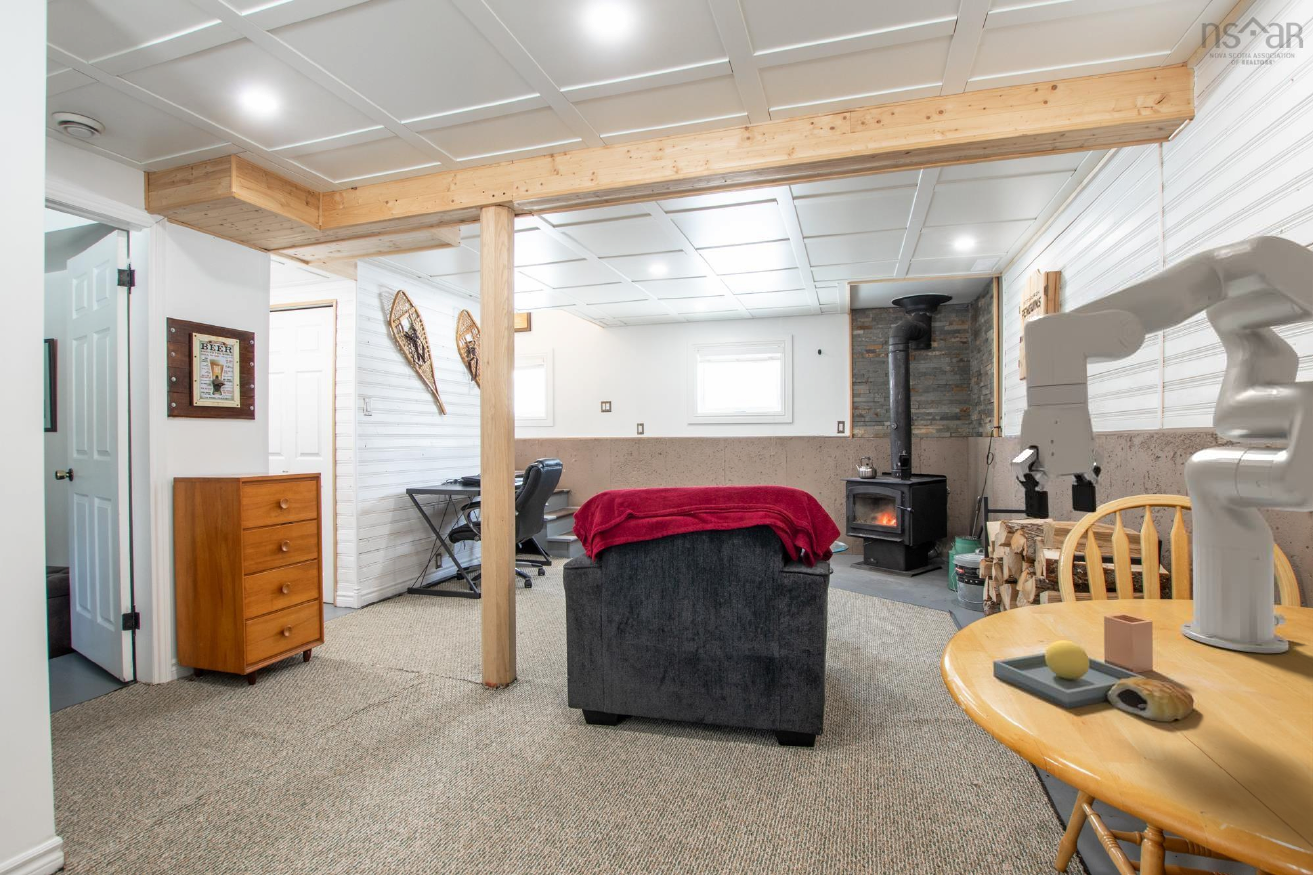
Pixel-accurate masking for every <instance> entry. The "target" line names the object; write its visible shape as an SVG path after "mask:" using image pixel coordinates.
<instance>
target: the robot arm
mask: <svg viewBox="0 0 1313 875" xmlns="http://www.w3.org/2000/svg"><path fill="white" fill-rule="evenodd" d="M1203 311H1205V315H1206V318H1207V320H1208V322H1209V324H1210V326H1211V327H1212V328H1213V331H1214V332H1215V333H1216V335H1217V336H1218V339H1219V340H1220V342H1221V344H1222V346H1223V347H1224V350H1225V354H1226V367H1225V370H1224V374H1223V378H1222V382H1221V386H1220V388H1219V392H1218V396H1217V400H1216V404H1215V406H1214V410H1213V416H1212V427H1213V430H1214V432H1215V433H1216V434H1217V435H1218V437H1220V438H1222V439H1224V440H1228V441H1231V442H1237V443H1238V442H1240V443H1255V444H1258V443H1259V444H1261V443H1262V444H1270V443H1271V444H1288V446H1287V447H1265V446H1264V447H1262V446H1261V447H1260V446H1215V447H1208V448H1205V449H1202V450H1198V451H1196V452H1195V453H1194V454H1192V455H1191V456H1190V457H1189V458H1188V460H1187V461H1186V463H1185V466H1184V471H1183V472H1184V473H1183V475H1184V482H1185V487H1186V490H1187V494H1188V498H1189V503H1190V509H1191V517H1192V570H1193V571H1192V580H1193V581H1192V584H1193V586H1192V589H1193V590H1192V591H1193V592H1192V594H1193V595H1192V596H1193V598H1192V599H1193V600H1192V602H1193V604H1192V606H1193V614H1192V615H1193V621H1188V622H1185V623H1182V624H1181V626H1180V628H1181V634H1183V635H1184V636H1186V637H1188V638H1189V639H1191V640H1194V641H1196V642H1200V643H1202V644H1206V645H1210V646H1215V647H1218V648H1223V649H1227V650H1234V651H1239V652H1247V653H1257V654H1280V653H1285V652H1287V651H1288V650H1289V642H1288V640H1286V639H1285V638H1284V637H1282V636H1279V635H1277V634H1276V633H1275V627H1278V626H1283V625H1284V624H1286V617H1285V616H1283V615H1282V614H1281V613H1277V612H1276V613H1275V568H1274V567H1275V566H1274V565H1275V561H1274V560H1275V558H1274V557H1275V556H1274V555H1275V551H1274V550H1275V546H1274V545H1275V540H1274V534H1273V532H1272V528H1271V527H1270V525H1269V524H1268V522H1267V520H1266V519H1265V518H1264V516H1263V515H1262V514H1261V513H1260V512H1259V511H1258V508H1260V509H1266V510H1269V509H1270V510H1278V511H1290V512H1291V511H1292V512H1313V380H1309V381H1308V380H1307V381H1306V380H1305V381H1296V380H1297V374H1298V370H1299V366H1300V358H1299V355H1298V353H1297V352H1296V350H1295V349H1294V348H1293V347H1292V345H1290V344H1289V343H1288V342H1287V341H1286V340H1285V339H1284V338H1282V337H1281V336H1280V335H1278V334H1277V333H1276V331H1275V330H1273V329H1272V328H1273V327H1280V326H1288V325H1294V324H1301V323H1309V322H1313V250H1311V249H1309V248H1308V247H1306V246H1304V245H1302V244H1300V243H1298V242H1296V241H1293V240H1290V239H1288V238H1286V237H1281V236H1277V235H1262V236H1257V237H1253V238H1249V239H1244V240H1241V241H1237V242H1233V243H1229V244H1225V245H1221V246H1216V247H1213V248H1211V249H1207V250H1203V251H1200V252H1198V253H1195V254H1193V255H1190V256H1188V257H1186V258H1184V259H1183V260H1181V261H1178V262H1177V263H1174V264H1173V265H1171V266H1170V267H1167V268H1165V269H1163V270H1162V271H1159V272H1158V273H1156V274H1153V275H1152V276H1150V277H1148V278H1146V279H1143V280H1141V281H1139V282H1136V283H1134V284H1132V285H1131V284H1130V285H1128V286H1126V287H1124V288H1122V289H1118V290H1117V291H1114V292H1112V293H1109V294H1108V295H1106V296H1102V297H1100V298H1098V299H1095V300H1092V301H1090V302H1087V303H1084V304H1082V305H1080V306H1077V307H1075V308H1073V309H1070V310H1069V311H1066V312H1065V311H1062V312H1053V313H1047V314H1041V315H1037V316H1034V317H1032V318H1030V319H1028V320H1027V321H1026V323H1025V324H1024V328H1023V329H1024V330H1023V332H1024V334H1023V337H1024V338H1023V339H1024V358H1025V359H1024V360H1025V365H1024V366H1025V385H1026V387H1025V388H1026V390H1025V391H1026V409H1024V410H1023V414H1022V417H1021V418H1022V420H1021V425H1020V427H1021V428H1020V435H1019V436H1020V437H1019V456H1018V457H1016V458H1015V459H1014V460H1013V461H1012V462H1011V466H1012V468H1013V470H1014V473H1015V475H1016V476H1015V477H1016V480H1017V481H1018V482H1019V484H1020V488H1021V490H1023V491H1024V506H1025V510H1024V511H1025V512H1024V513H1025V516H1026V517H1027V518H1034V519H1040V520H1047V519H1049V517H1050V512H1049V511H1050V510H1049V491H1048V490H1045V488H1046V486H1047V484H1048V483H1049V480H1050V479H1051V478H1052V477H1053V478H1054V477H1055V478H1057V477H1066V476H1067V477H1068V476H1069V477H1071V479H1072V480H1073V481H1074V483H1075V484H1071V498H1072V499H1071V502H1072V504H1071V505H1072V510H1073V511H1075V512H1081V513H1082V512H1083V513H1090V514H1092V513H1096V512H1097V492H1096V491H1097V490H1096V488H1097V487H1096V486H1097V485H1099V484H1098V483H1099V479H1098V477H1099V476H1100V474H1101V473H1102V472H1101V471H1102V469H1101V468H1102V465H1103V461H1104V458H1105V456H1104V454H1103V453H1101V452H1100V451H1098V450H1097V449H1096V448H1095V440H1094V439H1095V438H1094V430H1093V424H1092V419H1091V413H1090V409H1089V390H1088V389H1089V388H1088V386H1089V385H1088V365H1093V364H1094V365H1095V364H1103V363H1111V362H1117V361H1120V360H1124V359H1127V358H1129V357H1131V356H1133V355H1134V354H1136V353H1137V352H1138V351H1139V350H1140V349H1141V347H1142V346H1143V345H1144V343H1145V341H1146V336H1147V335H1148V336H1149V335H1152V334H1156V333H1158V332H1163V331H1166V330H1169V329H1172V328H1175V327H1177V326H1178V325H1181V324H1182V323H1184V322H1186V321H1187V320H1189V319H1192V318H1193V317H1195V316H1196V315H1198V314H1200V313H1201V312H1203ZM1036 478H1038V479H1036Z"/></svg>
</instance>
